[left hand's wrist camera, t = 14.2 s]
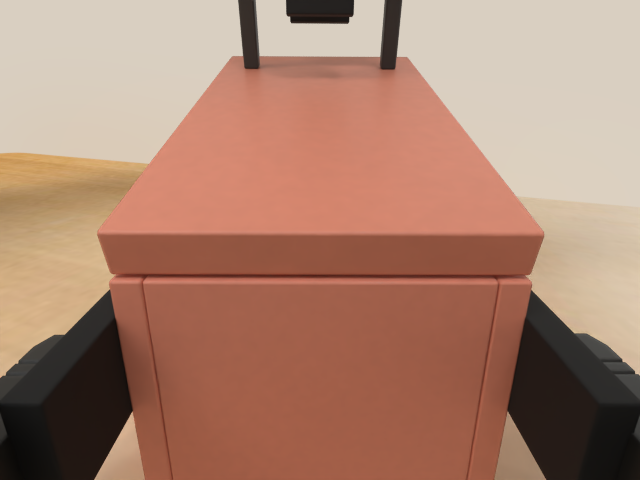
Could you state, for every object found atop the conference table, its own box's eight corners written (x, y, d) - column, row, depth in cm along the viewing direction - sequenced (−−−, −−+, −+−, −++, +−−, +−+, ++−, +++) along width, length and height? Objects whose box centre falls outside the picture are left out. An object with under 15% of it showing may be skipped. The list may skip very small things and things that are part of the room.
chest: (246, 294, 29) (238, 154, 25) (390, 294, 29) (400, 155, 25) (158, 560, 13) (107, 281, 10) (479, 560, 13) (533, 282, 10)
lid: (233, 78, 24) (212, -126, 19) (405, 79, 24) (428, -124, 19) (109, 276, 10) (-100, -330, 5) (531, 277, 10) (746, -322, 5)
